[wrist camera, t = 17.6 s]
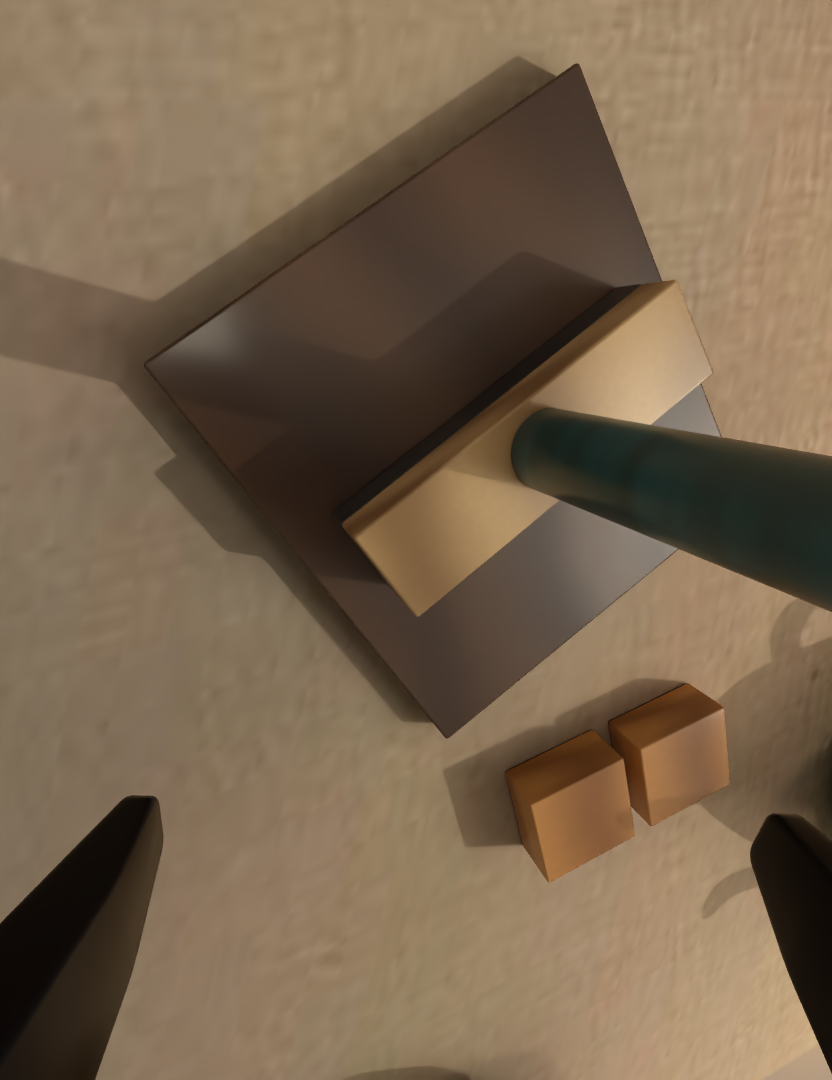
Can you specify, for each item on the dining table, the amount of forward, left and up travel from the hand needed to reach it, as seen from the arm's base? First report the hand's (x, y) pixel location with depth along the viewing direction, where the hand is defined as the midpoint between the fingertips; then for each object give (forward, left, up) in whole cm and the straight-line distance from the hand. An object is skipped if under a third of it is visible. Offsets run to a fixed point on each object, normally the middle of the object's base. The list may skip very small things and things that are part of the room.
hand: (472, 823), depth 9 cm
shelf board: (+6, -4, -11) cm, 13 cm away
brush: (+6, -4, -10) cm, 13 cm away
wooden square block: (-4, -16, -11) cm, 20 cm away
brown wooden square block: (-6, -12, -11) cm, 18 cm away
